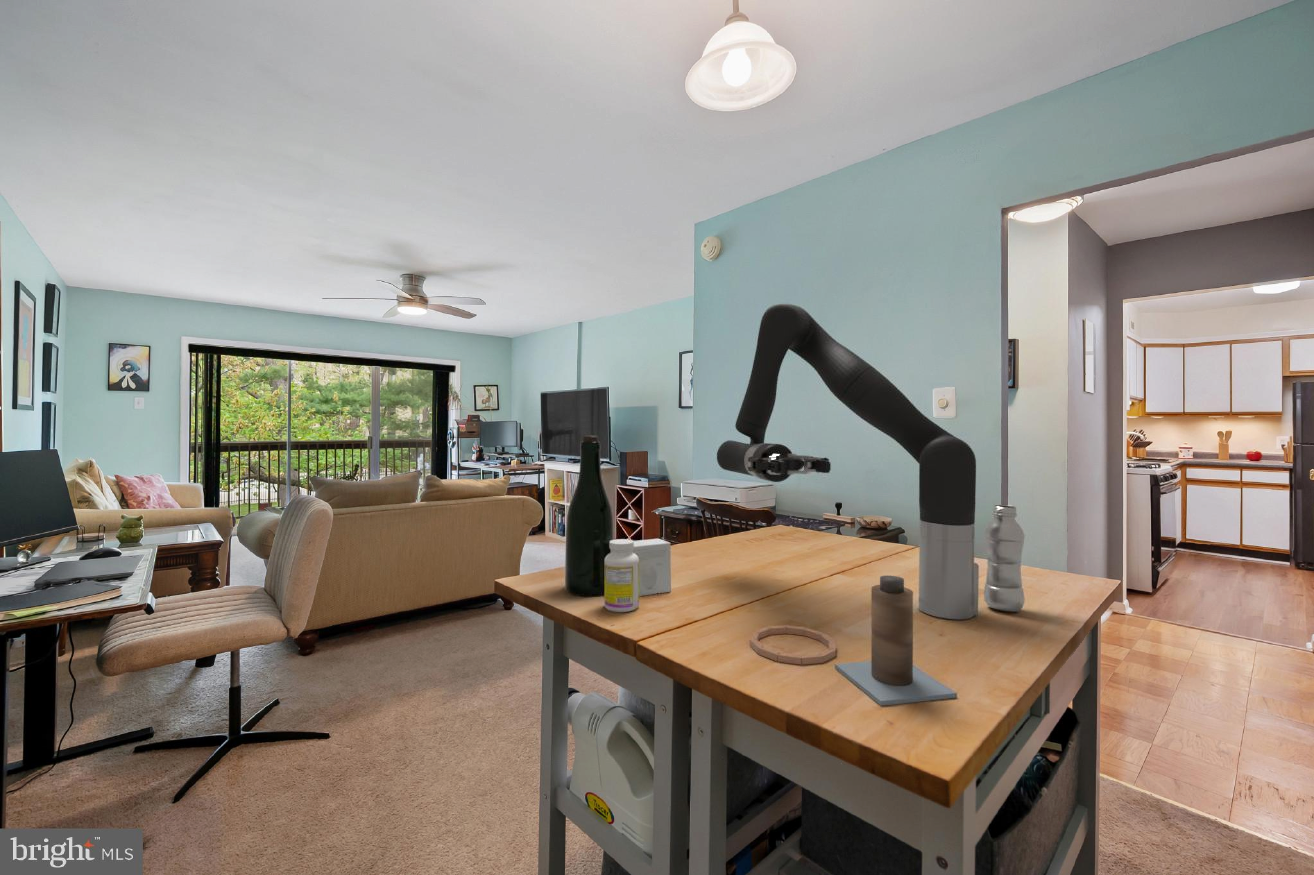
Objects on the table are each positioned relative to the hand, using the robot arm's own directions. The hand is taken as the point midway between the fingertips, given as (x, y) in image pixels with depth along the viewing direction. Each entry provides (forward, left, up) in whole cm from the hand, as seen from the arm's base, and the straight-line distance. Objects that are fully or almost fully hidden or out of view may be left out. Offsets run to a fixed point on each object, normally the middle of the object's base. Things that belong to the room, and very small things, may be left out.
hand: (805, 467), depth 96 cm
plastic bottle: (-42, -1, -28) cm, 51 cm away
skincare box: (+24, -26, -28) cm, 45 cm away
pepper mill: (-2, +22, -27) cm, 35 cm away
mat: (-2, +22, -28) cm, 36 cm away
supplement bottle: (+30, -16, -28) cm, 44 cm away
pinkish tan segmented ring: (+6, +8, -28) cm, 30 cm away
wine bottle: (+35, -29, -28) cm, 53 cm away
